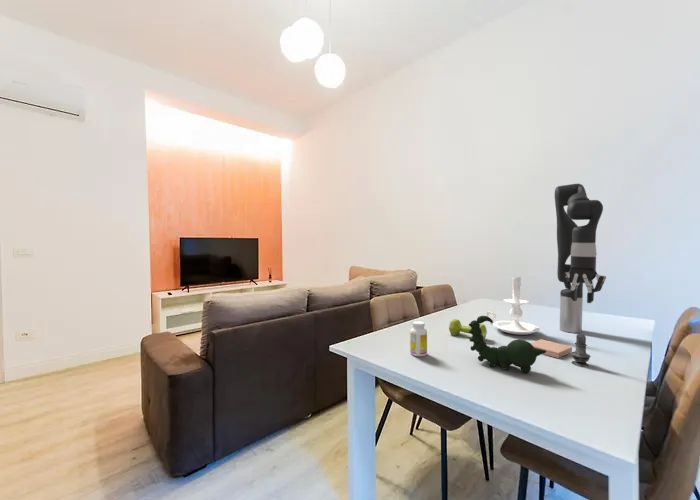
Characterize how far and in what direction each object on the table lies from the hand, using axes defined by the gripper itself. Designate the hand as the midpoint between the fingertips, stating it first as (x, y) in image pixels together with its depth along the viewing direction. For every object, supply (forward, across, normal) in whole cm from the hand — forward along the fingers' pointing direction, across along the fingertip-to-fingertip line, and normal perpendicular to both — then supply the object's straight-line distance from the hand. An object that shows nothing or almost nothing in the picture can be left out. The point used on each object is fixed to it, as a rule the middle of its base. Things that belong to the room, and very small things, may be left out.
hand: (582, 301), depth 118 cm
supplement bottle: (+24, -41, -42) cm, 63 cm away
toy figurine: (+24, -14, -26) cm, 38 cm away
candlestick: (+24, -37, +19) cm, 48 cm away
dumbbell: (+24, -44, -6) cm, 50 cm away
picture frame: (+22, -13, +11) cm, 28 cm away
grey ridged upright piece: (+24, 0, 0) cm, 24 cm away
